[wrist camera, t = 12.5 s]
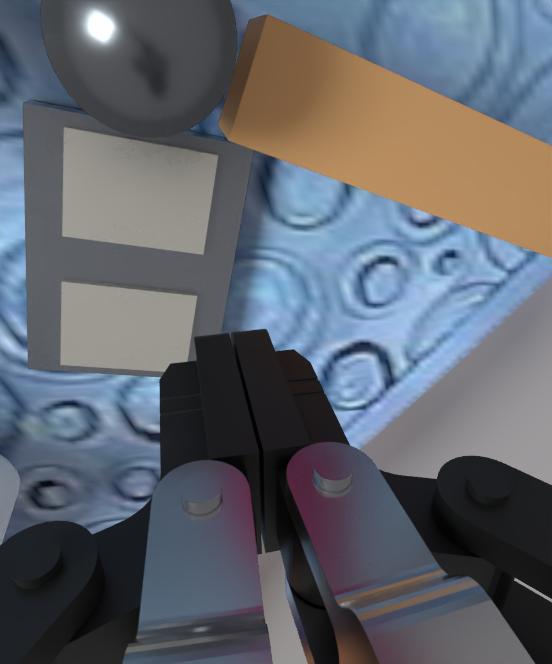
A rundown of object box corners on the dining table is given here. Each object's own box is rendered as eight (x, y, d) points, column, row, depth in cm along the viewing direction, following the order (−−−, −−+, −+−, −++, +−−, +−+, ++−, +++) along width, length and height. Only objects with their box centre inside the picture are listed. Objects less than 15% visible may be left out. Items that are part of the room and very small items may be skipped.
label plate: (29, 99, 20) (20, 103, 19) (250, 142, 22) (255, 148, 21) (33, 355, 25) (26, 372, 24) (210, 368, 28) (212, 383, 26)
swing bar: (215, 125, 16) (230, 149, 13) (246, 17, 15) (275, 7, 11) (572, 257, 22) (657, 301, 18) (618, 186, 20) (721, 217, 17)
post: (102, -34, 18) (26, -134, 8) (211, -4, 19) (265, -60, 9) (97, 86, 20) (29, 127, 10) (197, 107, 21) (229, 163, 11)
